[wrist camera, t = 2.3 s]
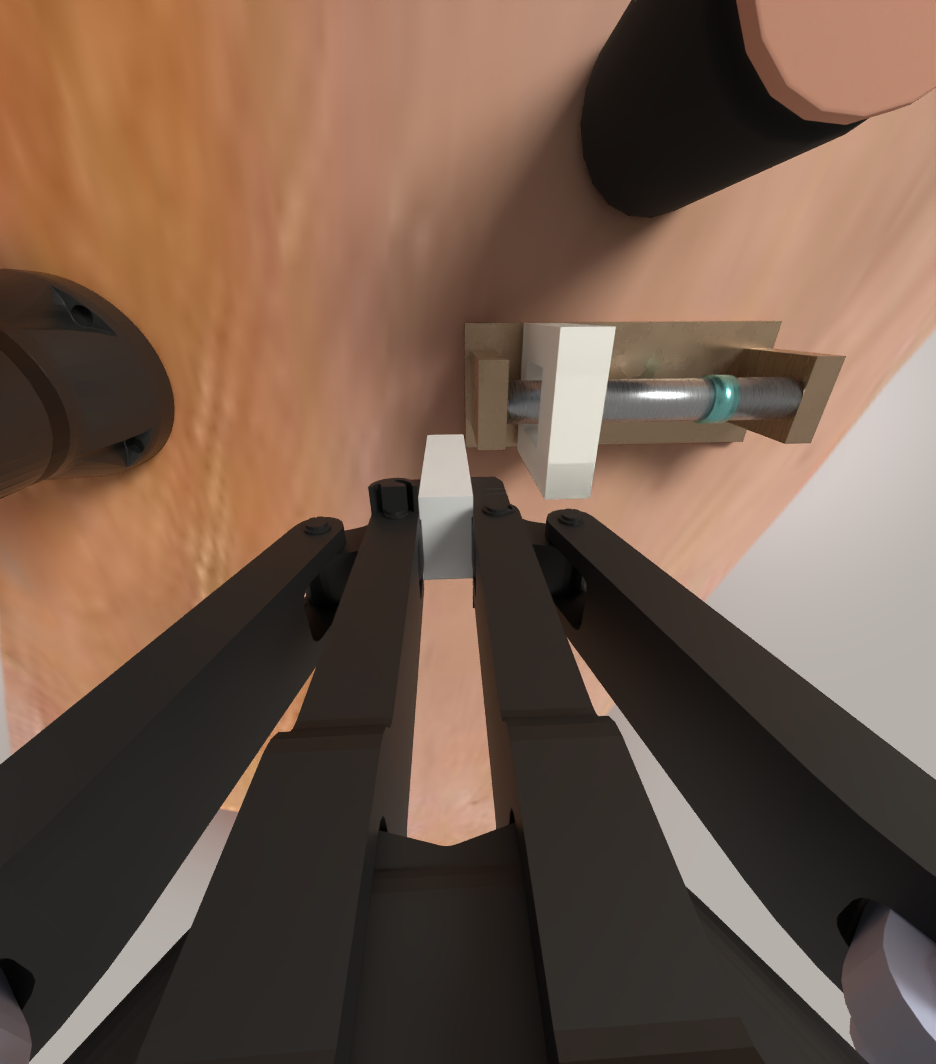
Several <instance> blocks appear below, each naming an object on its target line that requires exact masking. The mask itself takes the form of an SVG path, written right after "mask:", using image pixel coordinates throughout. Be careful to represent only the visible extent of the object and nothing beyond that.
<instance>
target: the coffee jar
mask: <svg viewBox="0 0 936 1064" xmlns="http://www.w3.org/2000/svg"><path fill="white" fill-rule="evenodd" d="M934 88H936V0H631V2H630V4H629V5H628V7H627V9H626V10H625V12H624V14H623V15H622V17H621V19H620V20H619V22H618V24H617V25H616V27H615V29H614V30H613V32H612V34H611V35H610V37H609V39H608V40H607V42H606V44H605V45H604V47H603V49H602V50H601V52H600V54H599V56H598V58H597V61H596V64H595V66H594V69H593V71H592V74H591V77H590V79H589V82H588V85H587V87H586V91H585V98H584V105H583V112H582V118H581V135H582V147H583V158H584V160H585V163H586V166H587V169H588V171H589V174H590V177H591V180H592V183H593V185H594V186H595V187H596V189H597V190H598V191H599V192H600V194H601V195H602V196H603V198H604V199H605V200H606V201H607V203H608V204H609V205H611V206H613V207H614V208H616V209H618V210H620V211H621V212H623V213H625V214H627V215H629V216H638V217H648V218H652V217H655V216H659V215H662V214H665V213H669V212H672V211H675V210H677V209H679V208H682V207H684V206H686V205H688V204H691V203H693V202H695V201H697V200H700V199H702V198H704V197H706V196H708V195H711V194H713V193H715V192H717V191H720V190H722V189H724V188H726V187H729V186H731V185H733V184H735V183H737V182H740V181H742V180H744V179H746V178H749V177H751V176H753V175H755V174H758V173H760V172H762V171H764V170H766V169H769V168H771V167H773V166H775V165H778V164H780V163H782V162H784V161H787V160H789V159H791V158H793V157H795V156H798V155H800V154H802V153H804V152H807V151H809V150H811V149H813V148H816V147H818V146H820V145H822V144H824V143H827V142H829V141H831V140H833V139H836V138H838V137H840V136H842V135H845V134H846V133H848V132H849V131H851V130H852V129H854V128H855V127H857V126H858V125H860V124H861V123H863V122H864V121H866V120H867V119H868V118H870V117H873V116H877V115H880V114H883V113H887V112H890V111H893V110H896V109H899V108H902V107H905V106H907V105H910V104H912V103H913V102H915V101H916V100H918V99H919V98H921V97H922V96H924V95H925V94H927V93H928V92H930V91H931V90H933V89H934Z"/></svg>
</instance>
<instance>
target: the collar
mask: <svg viewBox="0 0 936 1064" xmlns="http://www.w3.org/2000/svg"><path fill="white" fill-rule="evenodd" d="M615 330H616V327H615V326H600V325H585V324H570V323H524V329H523V347H522V366H521V380H542V385H541V398H540V411H539V424H518V440H517V451H518V453H519V454H520V456H521V458H522V460H523V462H524V463H525V465H526V467H527V469H528V471H529V472H530V474H531V476H532V478H533V480H534V481H535V483H536V485H537V487H538V489H539V490H540V492H541V494H542V496H543V498H544V499H582V498H590V495H591V488H592V481H593V475H594V468H595V462H596V455H597V448H598V442H599V435H600V429H601V422H602V415H603V409H604V402H605V396H606V389H607V382H608V376H609V369H610V363H611V356H612V349H613V343H614V336H615Z"/></svg>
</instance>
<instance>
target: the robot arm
mask: <svg viewBox="0 0 936 1064" xmlns="http://www.w3.org/2000/svg"><path fill="white" fill-rule="evenodd" d="M173 421H174V399H173V393H172V388H171V385H170V381H169V378H168V376H167V373H166V371H165V368H164V366H163V364H162V362H161V360H160V358H159V357H158V355H157V353H156V352H155V350H154V349H153V347H152V346H151V344H150V343H149V341H148V340H147V339H146V337H145V336H144V335H143V334H142V332H141V331H140V330H139V329H138V328H137V327H136V326H135V325H134V324H133V322H132V321H131V320H129V319H128V318H127V317H126V316H125V315H124V314H123V313H122V312H121V311H120V310H118V309H117V308H116V307H115V306H113V305H112V304H111V303H110V302H108V301H107V300H105V299H104V298H102V297H101V296H99V295H98V294H96V293H95V292H93V291H91V290H89V289H87V288H86V287H84V286H81V285H79V284H77V283H75V282H73V281H70V280H68V279H65V278H62V277H59V276H55V275H51V274H47V273H42V272H34V271H24V270H14V269H0V498H3V497H5V496H7V495H10V494H12V493H14V492H16V491H19V490H21V489H23V488H25V487H27V486H30V485H32V484H35V483H37V482H40V481H42V480H55V479H71V478H87V477H102V476H109V475H113V474H117V473H121V472H124V471H126V470H129V469H131V468H133V467H135V466H137V465H139V464H141V463H143V462H145V461H147V460H148V459H150V458H152V457H153V456H154V455H155V454H157V453H158V452H159V451H160V449H161V448H162V447H163V446H164V444H165V443H166V441H167V439H168V437H169V435H170V433H171V430H172V426H173ZM368 489H369V497H370V505H371V512H372V515H371V518H370V521H369V523H368V525H367V526H364V527H360V528H356V529H351V530H345V531H344V526H343V523H342V521H340V520H339V519H336V518H331V517H317V518H316V517H314V518H310V519H309V520H306V521H303V522H301V523H299V524H297V525H296V526H294V527H293V528H292V529H291V530H289V531H288V532H287V533H286V534H284V535H283V536H282V537H281V538H280V539H278V540H277V541H276V542H275V543H273V544H272V545H271V546H270V547H268V548H267V549H266V550H265V551H263V552H262V553H261V554H260V555H259V556H257V557H256V558H255V559H254V560H252V561H251V562H250V563H249V564H247V565H246V566H245V567H244V568H242V569H241V570H240V571H239V572H238V573H236V574H235V575H234V576H233V577H231V578H230V579H229V580H228V581H226V582H225V583H224V584H223V585H221V586H220V587H219V588H218V589H217V590H215V591H214V592H213V593H212V594H210V595H209V596H208V597H207V598H205V599H204V600H203V601H202V602H200V603H199V604H198V605H197V606H196V607H194V608H193V609H192V610H191V611H189V612H188V613H187V614H186V615H184V616H183V617H182V618H181V619H179V620H178V621H177V622H176V623H175V624H173V625H172V626H171V627H170V628H168V629H167V630H166V631H165V632H163V633H162V634H161V635H160V636H158V637H157V638H156V639H155V640H154V641H152V642H151V643H150V644H149V645H147V646H146V647H145V648H144V649H142V650H141V651H140V652H139V653H137V654H136V655H135V656H134V657H133V658H131V659H130V660H129V661H128V662H126V663H125V664H124V665H123V666H121V667H120V668H119V669H118V670H116V671H115V672H114V673H113V674H112V675H110V676H109V677H108V678H107V679H105V680H104V681H103V682H102V683H100V684H99V685H98V686H97V687H95V688H94V689H93V690H92V691H91V692H89V693H88V694H87V695H86V696H84V697H83V698H82V699H81V700H79V701H78V702H77V703H76V704H74V705H73V706H72V707H71V708H70V709H68V710H67V711H66V712H65V713H63V714H62V715H61V716H60V717H58V718H57V719H56V720H55V721H53V722H52V723H51V724H50V725H49V726H47V727H46V728H45V729H44V730H42V731H41V732H40V733H39V734H37V735H36V736H35V737H34V738H32V739H31V740H30V741H29V742H28V743H26V744H25V745H24V746H23V747H21V748H20V749H19V750H18V751H16V752H15V753H14V754H13V755H11V756H10V757H9V758H8V759H7V760H5V761H4V762H3V763H2V764H0V1064H29V1062H30V1061H31V1060H32V1058H33V1057H34V1056H35V1055H36V1054H37V1053H38V1052H39V1051H40V1049H41V1048H42V1047H43V1046H44V1045H45V1044H46V1043H47V1042H48V1041H49V1039H51V1037H52V1036H53V1035H54V1034H55V1033H56V1032H57V1031H58V1029H60V1027H61V1026H62V1025H63V1024H64V1023H65V1021H66V1020H67V1019H68V1018H69V1017H70V1015H71V1014H72V1013H73V1012H74V1010H75V1009H76V1008H77V1007H78V1005H79V1004H80V1003H81V1002H82V1001H83V999H84V998H85V997H86V996H87V994H88V993H89V992H90V991H91V990H92V988H93V987H94V986H95V985H96V983H97V982H98V981H99V979H101V977H102V976H103V975H104V974H105V972H106V971H107V970H108V969H109V967H110V966H111V964H112V963H113V962H114V960H115V959H116V957H117V956H118V955H119V953H120V952H121V951H122V949H123V948H124V946H125V945H126V944H127V942H128V941H129V940H130V938H131V937H132V936H133V934H134V933H135V931H136V930H137V929H138V927H139V926H140V924H141V923H142V922H143V920H144V919H145V917H146V916H147V914H148V913H149V911H150V910H151V909H152V907H153V906H154V904H155V903H156V901H157V900H158V898H159V897H160V895H161V894H162V892H163V891H164V889H165V888H166V887H167V885H168V883H169V882H170V881H171V879H172V878H173V876H174V875H175V873H176V872H177V870H178V869H179V867H180V866H181V864H182V863H183V862H184V860H185V859H186V857H187V856H188V854H189V853H190V851H191V850H192V848H193V847H194V845H195V844H196V842H197V841H198V839H199V838H200V837H201V835H202V834H203V832H204V830H205V829H206V827H207V826H208V825H209V823H210V822H211V820H212V819H213V817H214V816H215V814H216V813H217V811H218V810H219V809H220V807H221V806H222V804H223V803H224V801H225V800H226V798H227V797H228V795H229V794H230V792H231V791H232V789H233V788H234V787H235V785H236V784H237V782H238V781H239V779H240V778H241V776H242V775H243V773H244V772H245V770H246V769H247V767H248V766H249V764H250V763H251V762H252V760H253V759H254V757H255V756H256V754H257V753H258V751H259V750H260V748H261V747H262V745H263V744H264V742H265V741H266V739H267V738H268V737H269V735H270V734H271V732H272V731H273V729H274V728H275V726H276V725H277V723H278V722H279V720H280V719H281V717H282V716H283V714H284V713H285V711H286V710H287V709H288V707H289V706H290V704H291V703H292V701H293V700H294V698H295V697H296V695H297V694H298V692H299V691H300V689H301V688H302V686H303V685H304V684H305V682H306V681H307V679H308V678H309V676H310V675H311V673H312V672H313V670H314V669H315V667H316V669H315V672H314V674H313V677H312V680H311V683H310V685H309V688H308V691H307V694H306V696H305V699H304V702H303V705H302V707H301V710H300V713H299V716H298V718H297V721H296V723H295V725H294V727H293V729H292V730H291V731H290V732H278V733H277V734H276V735H275V736H274V737H273V738H272V739H271V740H270V742H269V743H268V745H267V747H266V749H265V751H264V753H263V755H262V757H261V760H260V762H259V764H258V767H257V769H256V772H255V774H254V777H253V779H252V781H251V784H250V786H249V789H248V791H247V793H246V796H245V798H244V801H243V803H242V806H241V808H240V810H239V813H238V815H237V818H236V820H235V823H234V825H233V827H232V830H231V832H230V835H229V837H228V839H227V842H226V844H225V847H224V849H223V851H222V854H221V856H220V859H219V861H218V864H217V866H216V869H215V871H214V873H213V876H212V878H211V881H210V883H209V885H208V888H207V890H206V893H205V895H204V897H203V900H202V902H201V905H200V907H199V909H198V912H197V914H196V917H195V919H194V922H193V924H192V926H191V928H190V929H189V930H188V931H187V932H186V933H185V934H184V935H183V936H182V937H181V938H180V939H179V940H178V941H177V942H176V944H175V945H174V946H173V947H172V948H171V949H170V950H169V951H168V952H167V953H166V954H165V955H164V956H163V957H162V958H161V960H160V961H159V962H158V963H157V964H156V965H155V966H154V967H153V968H152V969H151V970H150V971H149V972H148V973H147V975H146V976H145V977H144V978H143V979H142V980H141V981H140V982H139V983H138V984H137V985H136V986H135V987H134V988H133V989H132V990H131V992H130V993H129V994H128V995H127V996H126V997H125V998H124V999H123V1000H122V1001H121V1002H120V1003H119V1004H118V1005H117V1007H115V1009H114V1010H113V1011H112V1012H111V1013H110V1014H109V1015H108V1016H107V1017H106V1018H105V1019H104V1021H102V1023H100V1025H99V1026H98V1027H97V1028H96V1029H95V1030H94V1031H93V1032H92V1033H91V1034H90V1035H89V1036H88V1037H87V1038H86V1040H85V1041H84V1042H83V1043H82V1044H81V1045H80V1046H79V1047H78V1048H77V1049H76V1050H75V1051H74V1052H73V1053H72V1055H71V1056H70V1057H69V1058H68V1059H67V1060H66V1061H65V1062H64V1063H63V1064H936V780H935V779H934V778H933V777H931V776H930V775H929V774H927V773H926V772H925V771H923V770H922V769H921V768H920V767H918V766H917V765H916V764H914V763H913V762H912V761H910V760H909V759H908V758H907V757H905V756H904V755H903V754H901V753H900V752H899V751H897V750H896V749H895V748H893V747H892V746H891V745H890V744H888V743H887V742H886V741H884V740H883V739H882V738H880V737H879V736H878V735H876V734H875V733H874V732H873V731H871V730H870V729H869V728H867V727H866V726H865V725H864V724H862V723H861V722H860V721H858V720H857V719H856V718H854V717H853V716H852V715H851V714H849V713H848V712H847V711H845V710H844V709H843V708H841V707H840V706H839V705H838V704H836V703H835V702H834V701H832V700H831V699H830V698H828V697H827V696H826V695H825V694H823V693H822V692H820V691H819V690H818V689H817V688H815V687H814V686H813V685H811V684H810V683H809V682H808V681H806V680H805V679H803V678H802V677H801V676H800V675H798V674H797V673H796V672H795V671H793V670H792V669H791V668H789V667H788V666H787V665H785V664H784V663H783V662H782V661H780V660H779V659H778V658H776V657H775V656H774V655H772V654H771V653H770V652H768V651H767V650H766V649H765V648H763V647H762V646H761V645H759V644H758V643H757V642H755V641H754V640H753V639H752V638H750V637H749V636H748V635H746V634H745V633H743V632H742V631H741V630H740V629H739V628H737V627H736V626H735V625H733V624H732V623H731V622H729V621H728V620H727V619H726V618H724V617H723V616H722V615H720V614H719V613H718V612H716V611H715V610H714V609H712V608H711V607H710V606H708V605H707V604H706V603H705V602H703V601H702V600H701V599H699V598H698V597H697V596H696V595H694V594H693V593H692V592H690V591H689V590H688V589H686V588H685V587H684V586H683V585H681V584H680V583H679V582H677V581H676V580H675V579H673V578H672V577H671V576H670V575H668V574H667V573H666V572H664V571H663V570H662V569H660V568H659V567H658V566H657V565H655V564H654V563H653V562H651V561H650V560H649V559H647V558H646V557H645V556H643V555H642V554H641V553H640V552H638V551H637V550H636V549H634V548H633V547H632V546H630V545H629V544H628V543H627V542H625V541H624V540H623V539H621V538H620V537H619V536H617V535H616V534H615V533H614V532H612V531H611V530H610V529H608V528H607V527H606V526H604V525H603V524H602V523H601V522H599V521H598V520H597V519H595V518H594V517H593V516H591V515H589V514H587V513H585V512H581V511H579V510H576V509H573V510H572V509H565V510H557V511H553V512H551V513H550V514H548V516H547V520H546V524H545V523H537V522H531V521H527V520H524V519H522V517H521V514H520V511H519V510H518V508H517V507H516V506H514V505H512V504H510V502H509V499H508V496H507V494H506V491H505V489H504V485H503V482H502V481H500V480H499V479H497V478H496V477H470V473H469V467H468V460H467V454H466V448H465V441H464V435H463V434H456V435H427V442H426V449H425V456H424V462H423V469H422V476H421V480H409V479H404V478H389V479H383V480H379V481H376V482H374V483H372V484H371V485H370V486H369V487H368ZM423 573H424V580H432V579H462V578H473V608H475V614H476V624H477V634H478V644H479V654H480V665H481V675H482V685H483V695H484V705H485V716H486V726H487V736H488V746H489V756H490V767H491V777H492V787H493V797H494V808H495V818H496V830H494V831H491V832H488V833H485V834H483V835H480V836H477V837H475V838H472V839H469V840H467V841H464V842H461V843H459V844H456V845H452V846H440V845H436V844H432V843H428V842H424V841H420V840H416V839H412V838H408V837H407V819H408V805H409V791H410V777H411V763H412V749H413V736H414V722H415V708H416V694H417V680H418V667H419V653H420V639H421V625H422V611H423V597H424V580H423ZM305 593H306V596H305V598H304V595H305ZM566 636H567V637H566ZM567 638H568V639H569V641H570V642H571V643H572V645H573V646H574V647H575V649H576V650H577V651H578V653H579V654H580V656H581V657H582V658H583V660H584V661H585V662H586V664H587V665H588V667H589V668H590V669H591V671H592V672H593V673H594V675H595V676H596V677H597V679H598V680H599V682H600V683H601V684H602V686H603V687H604V688H605V690H606V691H607V693H608V694H609V695H610V697H611V698H612V699H613V701H614V702H615V704H616V705H617V706H618V707H619V709H620V710H621V711H622V713H623V714H624V716H625V717H626V718H627V720H628V721H629V723H630V724H631V725H632V727H633V728H634V730H635V731H636V732H637V734H638V735H639V736H640V738H641V739H642V740H643V742H644V743H645V745H646V746H647V747H648V749H649V750H650V751H651V753H652V754H653V756H654V757H655V758H656V760H657V761H658V762H659V763H660V765H661V766H662V768H663V769H664V770H665V772H666V773H667V774H668V776H669V777H670V779H671V780H672V781H673V783H674V784H675V785H676V787H677V788H678V790H679V791H680V792H681V794H682V795H683V797H684V798H685V799H686V801H687V802H688V803H689V805H690V806H691V808H692V809H693V810H694V812H695V813H696V814H697V816H698V817H699V818H700V820H701V821H702V823H703V824H704V825H705V827H706V828H707V829H708V831H709V832H710V833H711V834H712V836H713V838H714V839H715V840H716V842H717V843H718V844H719V846H720V847H721V849H722V850H723V851H724V853H725V854H726V855H727V857H728V858H729V860H730V861H731V862H732V864H733V865H734V866H735V868H736V869H737V870H738V872H739V873H740V875H741V876H742V877H743V879H744V880H745V881H746V883H747V884H748V885H749V886H750V888H751V889H752V890H753V891H754V893H755V894H756V895H757V896H758V898H759V899H760V900H761V902H762V903H763V904H764V906H765V907H766V908H767V909H768V911H769V912H770V913H771V914H772V916H773V917H774V918H775V919H776V921H777V922H778V923H779V924H780V925H781V926H782V928H784V930H785V931H786V932H787V933H788V934H789V935H790V937H791V938H792V939H793V940H794V941H795V942H796V943H797V945H799V947H800V948H801V949H802V950H803V951H804V952H805V953H806V955H807V956H808V957H809V958H810V959H811V960H812V961H813V963H815V965H816V966H817V967H818V968H819V969H820V970H821V971H822V972H823V973H824V974H825V975H826V976H827V977H828V978H829V979H830V980H831V981H832V982H833V983H834V984H835V985H836V986H837V987H838V988H839V989H840V990H841V991H842V992H843V993H844V998H845V1003H846V1005H847V1008H848V1010H849V1013H850V1015H851V1018H850V1035H851V1038H852V1041H853V1044H854V1047H855V1049H856V1050H855V1049H854V1048H853V1047H852V1046H850V1044H849V1043H848V1042H846V1041H845V1040H844V1039H843V1038H842V1037H841V1036H840V1035H839V1034H838V1033H837V1032H836V1031H835V1030H834V1029H833V1028H832V1027H831V1026H830V1025H829V1024H828V1023H827V1022H826V1021H825V1020H824V1019H823V1018H821V1016H820V1015H818V1013H817V1012H816V1011H815V1010H813V1009H812V1008H811V1007H810V1006H809V1005H808V1004H807V1003H806V1002H805V1001H804V1000H803V999H802V998H801V997H800V996H799V995H798V994H797V993H796V992H795V991H794V990H793V989H792V988H791V987H790V986H789V985H788V984H787V983H786V982H785V981H784V980H783V979H782V978H780V977H779V976H778V975H777V974H776V973H775V972H774V971H773V970H772V969H771V968H770V967H769V966H768V965H767V964H766V963H765V962H764V961H763V960H762V959H761V958H760V957H759V956H758V955H757V954H756V953H755V952H754V951H753V950H752V949H751V948H750V947H749V946H748V945H747V944H745V943H744V942H743V941H742V940H741V939H740V938H739V937H738V936H737V935H736V934H735V933H734V932H733V931H732V930H731V929H730V928H729V927H728V926H727V925H726V924H725V923H724V922H723V921H722V920H721V919H720V918H719V917H718V916H717V915H716V914H714V912H712V911H711V910H710V909H709V908H708V907H707V906H706V905H705V904H704V903H703V902H702V901H701V900H700V899H699V898H698V897H697V896H696V895H695V894H694V893H692V892H691V891H690V890H689V889H688V888H687V887H686V886H685V884H684V882H683V879H682V877H681V875H680V872H679V870H678V868H677V866H676V863H675V860H674V858H673V856H672V853H671V851H670V849H669V846H668V844H667V841H666V839H665V837H664V834H663V832H662V830H661V827H660V825H659V822H658V820H657V818H656V815H655V813H654V811H653V808H652V805H651V803H650V801H649V798H648V796H647V794H646V791H645V789H644V786H643V784H642V782H641V779H640V777H639V775H638V772H637V770H636V768H635V765H634V763H633V760H632V758H631V756H630V753H629V751H628V748H627V746H626V744H625V741H624V739H623V736H622V734H621V732H620V731H619V729H618V727H617V725H616V723H615V722H614V721H613V720H612V719H611V718H610V717H609V716H598V715H597V714H596V712H595V710H594V708H593V706H592V703H591V701H590V698H589V695H588V693H587V690H586V687H585V685H584V682H583V679H582V677H581V674H580V671H579V669H578V666H577V663H576V661H575V658H574V655H573V653H572V650H571V647H570V645H569V642H568V639H567Z"/></svg>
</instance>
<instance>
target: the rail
mask: <svg viewBox="0 0 936 1064" xmlns="http://www.w3.org/2000/svg"><path fill="white" fill-rule="evenodd" d="M781 322H782V321H717V322H564V323H570V324H585V325H600V326H615V327H616V330H615V336H614V343H613V349H612V356H611V363H610V369H609V376H608V382H607V389H606V396H605V402H604V409H603V415H602V422H601V429H600V435H599V442H598V445H609V444H657V443H704V442H743V440H744V436H745V433H746V430H750V431H752V432H755V433H758V434H760V435H763V436H766V437H768V438H771V439H774V440H776V441H779V442H782V443H784V444H796V443H811V441H812V439H813V436H814V434H815V431H816V429H817V426H818V424H819V421H820V419H821V416H822V414H823V411H824V409H825V407H826V404H827V402H828V399H829V397H830V394H831V392H832V389H833V387H834V384H835V382H836V379H837V377H838V375H839V372H840V370H841V367H842V365H843V362H844V360H845V357H846V356H840V355H830V354H820V353H810V352H801V351H791V350H781V349H773V347H774V344H775V341H776V338H777V335H778V332H779V329H780V325H781ZM523 329H524V323H464V338H465V445H466V448H467V447H477V448H478V450H506V447H515V446H517V440H518V424H539V411H540V398H541V385H542V380H521V366H522V347H523Z"/></svg>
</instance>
